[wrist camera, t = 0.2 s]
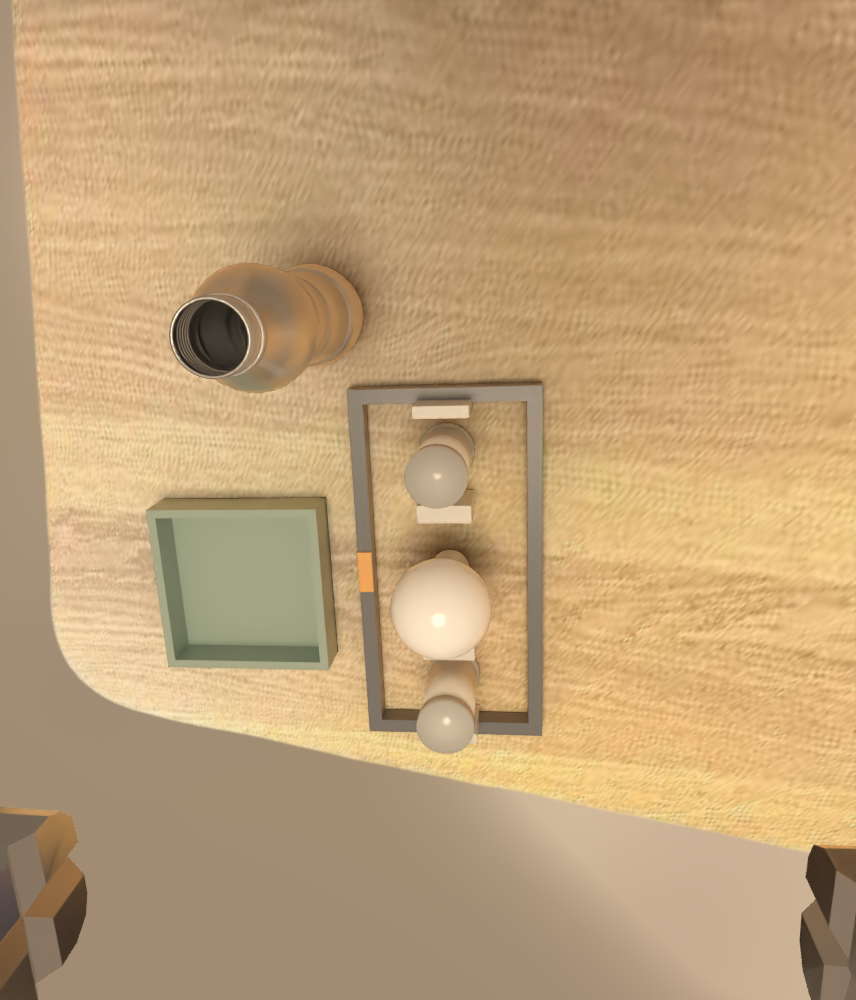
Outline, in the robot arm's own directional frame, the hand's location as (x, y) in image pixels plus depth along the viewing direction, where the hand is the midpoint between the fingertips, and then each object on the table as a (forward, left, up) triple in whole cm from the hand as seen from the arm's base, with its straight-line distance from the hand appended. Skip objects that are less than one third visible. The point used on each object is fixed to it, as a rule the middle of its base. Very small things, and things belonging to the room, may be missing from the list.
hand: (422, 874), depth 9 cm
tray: (+15, -19, -46) cm, 52 cm away
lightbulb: (+14, -4, -46) cm, 48 cm away
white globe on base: (+5, -4, -46) cm, 46 cm away
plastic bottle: (-4, -12, -46) cm, 48 cm away
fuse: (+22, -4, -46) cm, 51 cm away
